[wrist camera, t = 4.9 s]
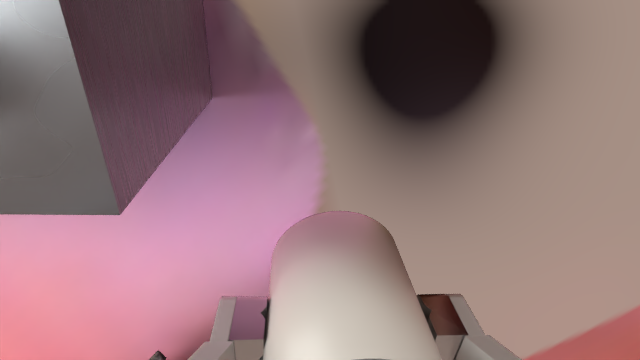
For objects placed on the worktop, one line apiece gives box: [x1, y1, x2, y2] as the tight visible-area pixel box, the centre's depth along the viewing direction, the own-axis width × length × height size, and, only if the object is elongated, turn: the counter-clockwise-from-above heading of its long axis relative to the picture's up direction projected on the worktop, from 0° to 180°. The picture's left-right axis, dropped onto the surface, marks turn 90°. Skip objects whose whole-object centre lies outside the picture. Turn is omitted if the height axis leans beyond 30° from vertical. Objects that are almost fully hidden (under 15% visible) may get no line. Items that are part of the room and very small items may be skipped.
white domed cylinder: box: [263, 211, 442, 360], centre depth 11 cm, size 5×5×6 cm
